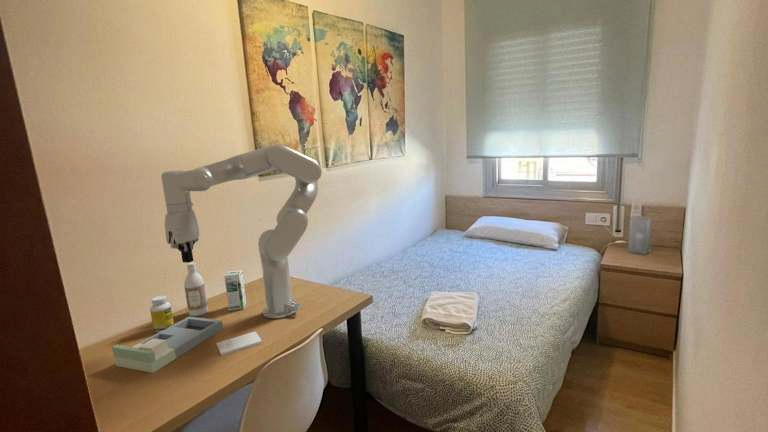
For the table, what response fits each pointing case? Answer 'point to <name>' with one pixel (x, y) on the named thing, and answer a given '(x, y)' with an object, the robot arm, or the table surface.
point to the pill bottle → (161, 313)
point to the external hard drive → (238, 343)
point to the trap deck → (177, 340)
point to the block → (155, 346)
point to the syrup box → (235, 290)
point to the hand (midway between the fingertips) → (188, 261)
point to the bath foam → (195, 292)
